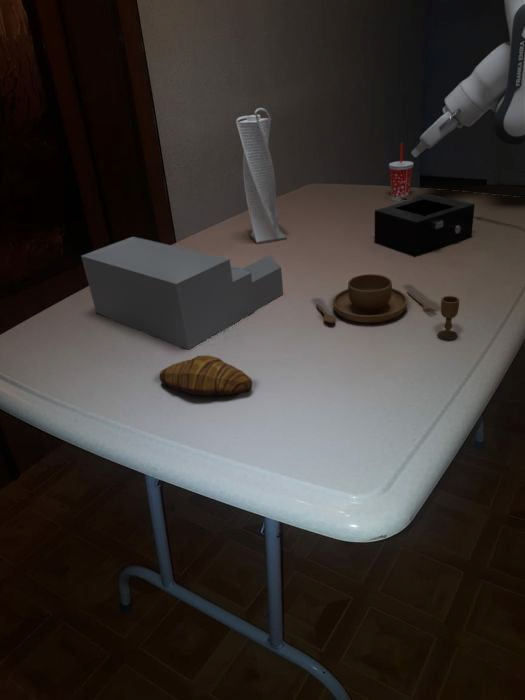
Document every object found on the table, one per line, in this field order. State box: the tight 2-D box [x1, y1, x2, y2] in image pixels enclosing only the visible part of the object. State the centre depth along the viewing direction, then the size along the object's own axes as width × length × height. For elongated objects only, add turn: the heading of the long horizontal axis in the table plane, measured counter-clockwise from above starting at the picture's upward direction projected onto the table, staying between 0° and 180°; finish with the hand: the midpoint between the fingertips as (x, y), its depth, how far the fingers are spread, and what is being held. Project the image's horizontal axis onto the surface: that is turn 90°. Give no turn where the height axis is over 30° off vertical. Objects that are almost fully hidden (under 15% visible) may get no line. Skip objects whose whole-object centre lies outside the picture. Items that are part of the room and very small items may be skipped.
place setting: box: [315, 273, 460, 341], centre depth 87 cm, size 18×20×6 cm
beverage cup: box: [388, 142, 414, 202], centre depth 143 cm, size 6×6×14 cm
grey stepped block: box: [80, 236, 284, 350], centre depth 97 cm, size 25×23×11 cm
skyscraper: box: [235, 107, 287, 245], centre depth 121 cm, size 8×8×28 cm
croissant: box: [159, 354, 253, 396], centre depth 74 cm, size 14×7×5 cm, turn 71°
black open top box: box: [374, 193, 476, 258], centre depth 115 cm, size 16×13×7 cm
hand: (418, 150), depth 138 cm, fingers open, 8 cm apart
